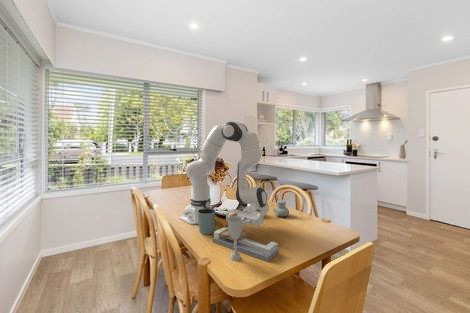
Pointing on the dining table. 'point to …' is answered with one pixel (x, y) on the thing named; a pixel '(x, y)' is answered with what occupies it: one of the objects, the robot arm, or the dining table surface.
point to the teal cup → (206, 220)
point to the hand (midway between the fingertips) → (234, 221)
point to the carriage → (227, 234)
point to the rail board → (248, 246)
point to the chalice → (235, 233)
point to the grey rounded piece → (281, 209)
